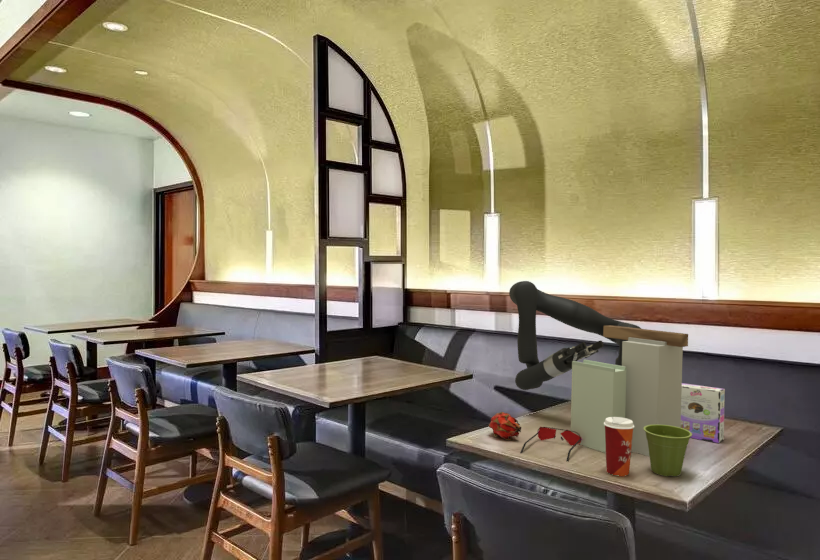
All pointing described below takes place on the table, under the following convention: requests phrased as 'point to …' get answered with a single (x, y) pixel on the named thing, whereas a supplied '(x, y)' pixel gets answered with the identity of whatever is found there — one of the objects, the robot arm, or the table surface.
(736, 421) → the table surface
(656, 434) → the plant pot
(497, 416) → the dragon fruit
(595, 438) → the sage box
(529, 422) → the table surface
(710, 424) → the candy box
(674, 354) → the grey stand
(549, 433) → the glasses
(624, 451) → the paper cup
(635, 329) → the walnut bar
